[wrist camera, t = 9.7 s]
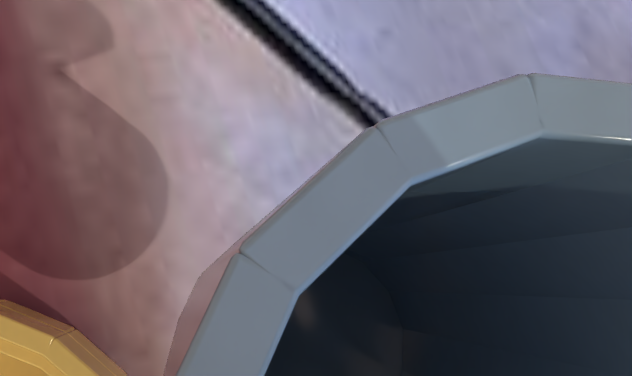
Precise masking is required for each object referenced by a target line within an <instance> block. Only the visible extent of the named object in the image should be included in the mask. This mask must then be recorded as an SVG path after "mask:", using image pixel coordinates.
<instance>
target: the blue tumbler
mask: <svg viewBox="0 0 632 376" xmlns="http://www.w3.org/2000/svg"><path fill="white" fill-rule="evenodd" d="M163 376H632V84H630V83H621V82H611V81H602V80H593V79H584V78H574V77H565V76H556V75H547V74H537V73H531V74H528V75H519V74H518V75H515V76H512V77H509V78H506V79H503V80H500V81H497V82H494V83H491V84H488V85H485V86H482V87H479V88H476V89H473V90H470V91H467V92H464V93H461V94H458V95H455V96H452V97H449V98H446V99H443V100H440V101H437V102H434V103H431V104H428V105H425V106H422V107H419V108H416V109H413V110H410V111H407V112H404V113H401V114H398V115H395V116H392V117H389V118H386V119H383V120H380V121H379V122H378V123H377V124H375V125H374V126H373V127H370V128H367V129H365V130H364V131H363V132H362V133H361V134H359V135H358V136H357V137H356V138H355V139H354V140H353V141H351V142H350V143H349V144H348V145H347V146H346V147H345V148H343V149H342V150H341V151H340V152H339V153H338V154H336V155H335V156H334V157H333V158H332V159H331V160H330V161H328V162H327V163H326V164H325V165H324V166H323V167H322V168H320V169H319V170H318V171H317V172H316V173H315V174H314V175H312V176H311V177H310V178H309V179H308V180H307V181H305V182H304V183H303V184H302V185H301V186H300V187H299V188H297V189H296V190H295V191H294V192H293V193H292V194H291V195H289V196H288V197H287V198H286V199H285V200H284V201H282V202H281V203H280V204H279V205H278V206H277V207H276V208H274V209H273V210H272V211H271V212H270V213H269V214H268V215H266V216H265V217H264V218H263V219H262V220H261V221H259V222H258V223H257V224H256V225H255V226H254V227H253V228H251V229H250V230H249V231H248V232H247V233H246V234H245V235H243V236H242V237H241V238H240V239H239V240H238V241H236V242H235V243H234V244H233V245H232V246H231V247H230V248H229V249H228V250H227V251H226V252H224V253H223V254H222V255H221V256H220V257H219V258H218V259H217V260H216V261H215V262H213V263H212V264H211V265H210V266H209V267H208V268H207V269H206V270H205V271H204V272H203V273H202V274H201V276H199V278H198V280H197V282H196V284H195V286H194V288H193V290H192V292H191V294H190V296H189V298H188V300H187V303H186V305H185V307H184V309H183V311H182V313H181V315H180V317H179V319H178V322H177V326H176V330H175V333H174V337H173V341H172V344H171V348H170V352H169V355H168V359H167V363H166V366H165V370H164V374H163Z"/></svg>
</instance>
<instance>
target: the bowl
mask: <svg viewBox="0 0 632 376" xmlns="http://www.w3.org/2000/svg"><path fill="white" fill-rule="evenodd" d="M0 376H127V373H126V372H125V371H123V370H122V369H121V368H120V367H119V366H118V365H117V364H116V363H114V362H113V361H112V360H111V359H110V358H109V357H108V356H107V355H105V354H104V353H103V352H102V351H101V350H100V349H99V348H97V347H96V346H95V345H94V344H93V343H92V342H91V341H90V340H88V339H87V338H86V337H85V336H84V335H83V334H82V333H80V332H79V331H78V330H77V329H74V327H72V326H69V325H67V324H65V323H62V322H60V321H57V320H55V319H52V318H50V317H48V316H45V315H43V314H40V313H38V312H36V311H33V310H31V309H28V308H26V307H23V306H21V305H19V304H16V303H14V302H11V301H6V300H4V299H0Z"/></svg>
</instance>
